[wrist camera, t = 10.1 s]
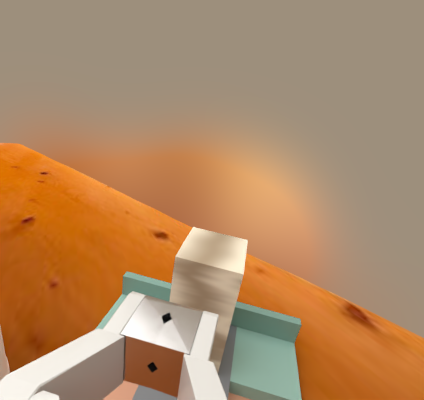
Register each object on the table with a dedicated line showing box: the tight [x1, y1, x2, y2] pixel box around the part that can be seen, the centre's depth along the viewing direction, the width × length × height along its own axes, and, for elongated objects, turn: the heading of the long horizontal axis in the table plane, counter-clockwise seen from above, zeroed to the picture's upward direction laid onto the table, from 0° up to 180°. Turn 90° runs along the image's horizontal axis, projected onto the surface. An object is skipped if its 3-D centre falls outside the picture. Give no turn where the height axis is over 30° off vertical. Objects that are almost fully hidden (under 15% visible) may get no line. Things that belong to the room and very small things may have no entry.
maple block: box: [169, 227, 248, 373], centre depth 27 cm, size 6×6×13 cm
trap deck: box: [95, 272, 302, 400], centre depth 24 cm, size 23×22×5 cm
